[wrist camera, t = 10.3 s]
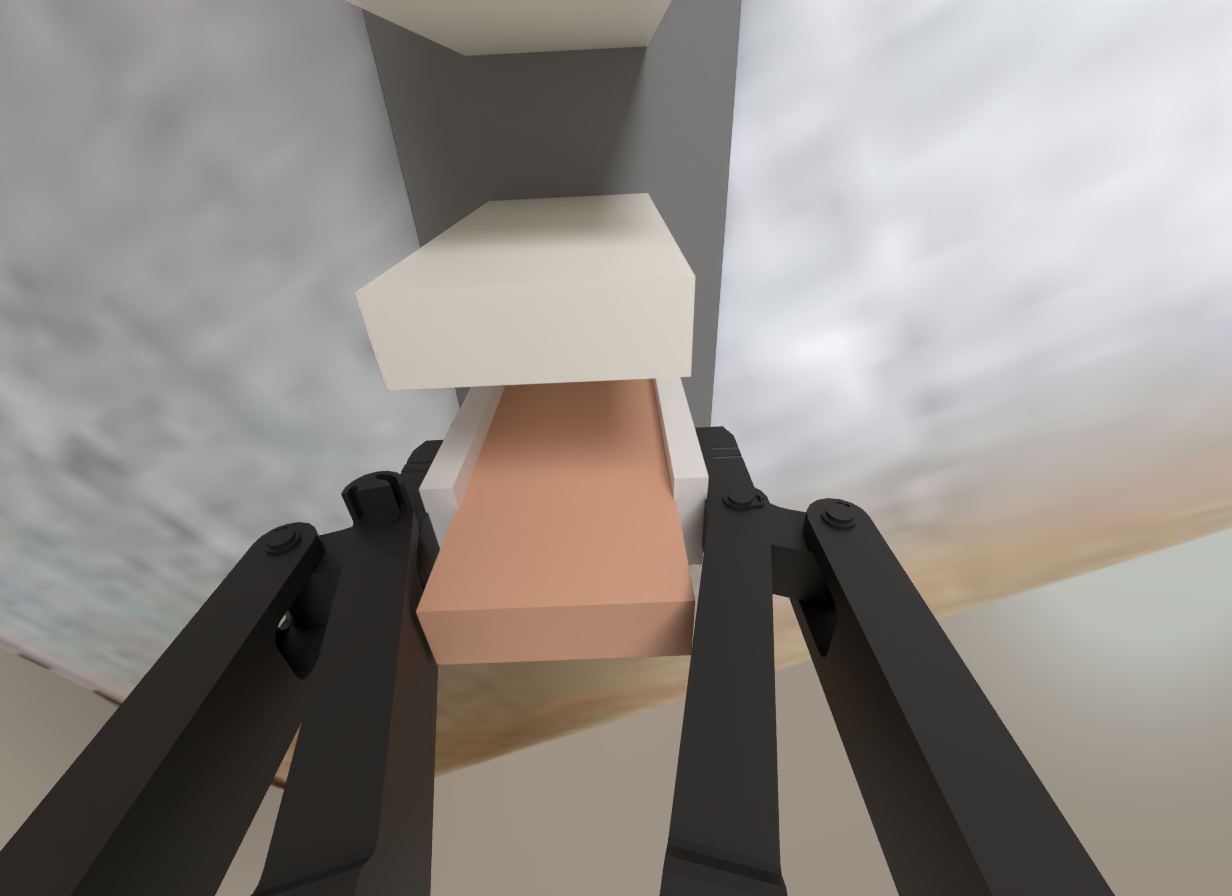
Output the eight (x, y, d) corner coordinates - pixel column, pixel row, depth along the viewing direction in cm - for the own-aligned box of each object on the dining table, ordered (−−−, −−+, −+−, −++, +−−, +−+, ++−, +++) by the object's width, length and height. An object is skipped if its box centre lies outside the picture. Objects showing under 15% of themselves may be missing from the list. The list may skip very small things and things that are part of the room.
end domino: (508, 374, 17) (416, 612, 9) (652, 367, 17) (695, 600, 9) (515, 414, 18) (436, 664, 10) (652, 408, 18) (691, 655, 10)
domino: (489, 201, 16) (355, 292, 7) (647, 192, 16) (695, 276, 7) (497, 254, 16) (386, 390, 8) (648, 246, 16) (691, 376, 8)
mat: (61, -1266, 6) (31, -1341, 6) (831, -1327, 6) (844, -1410, 6) (474, 452, 21) (472, 457, 21) (707, 442, 21) (708, 447, 21)
